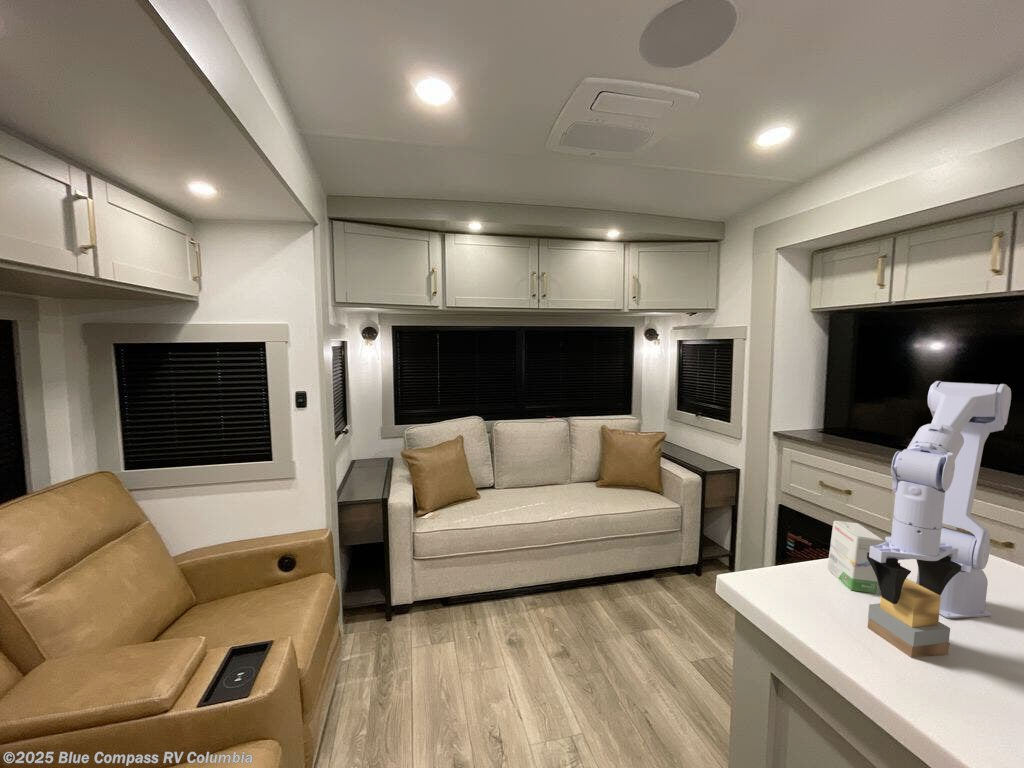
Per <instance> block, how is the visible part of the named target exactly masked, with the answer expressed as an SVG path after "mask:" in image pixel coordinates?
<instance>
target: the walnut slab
mask: <svg viewBox="0 0 1024 768" xmlns="http://www.w3.org/2000/svg"><path fill="white" fill-rule="evenodd" d="M867 619H868V620H867V629H868V630H870V631H871V632H873V633H874V634H876V635H877V636H879V637H880V638H882V639H883V640H885V641H886V642H887V643H889V644H890V645H892V646H893V647H895V648H897V649H898V650H899V651H900V652H902V653H903V654H905V655H906V656H908V657H910V659H915V658H924V657H925V658H926V657H935V656H936V657H937V656H947V655H949V652H950V643H951V642H950V641H949V642H948V643H940V644H931V645H923V646H914V647H913V646H911V645H910V644H908V643H907V642H905V641H904V640H902V639H901V638H899V637H897V636H896V635H894V634H893V633H891V632H890V631H888V630H887V629H885V628H883V627H882V626H880V625H879V624H877V623H876V622H874V621H873V620H871V619H870V618H868V617H867Z"/></svg>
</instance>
